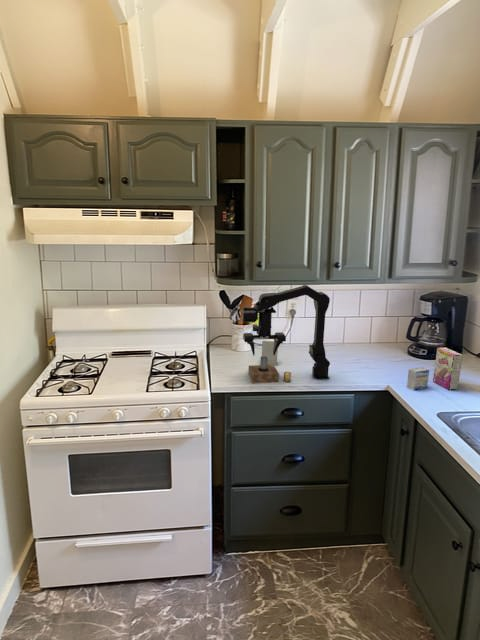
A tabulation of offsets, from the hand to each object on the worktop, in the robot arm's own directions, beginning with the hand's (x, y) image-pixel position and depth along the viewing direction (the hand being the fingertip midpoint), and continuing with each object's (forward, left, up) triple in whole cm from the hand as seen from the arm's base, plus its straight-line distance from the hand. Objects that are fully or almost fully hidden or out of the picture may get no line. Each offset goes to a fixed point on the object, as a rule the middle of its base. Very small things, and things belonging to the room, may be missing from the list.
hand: (263, 355), depth 214 cm
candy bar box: (-80, +17, -11) cm, 83 cm away
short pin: (-10, +5, -11) cm, 16 cm away
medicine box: (-66, +18, -11) cm, 69 cm away
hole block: (0, 0, -11) cm, 11 cm away
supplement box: (-7, -20, -11) cm, 24 cm away
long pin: (0, 0, -11) cm, 11 cm away
